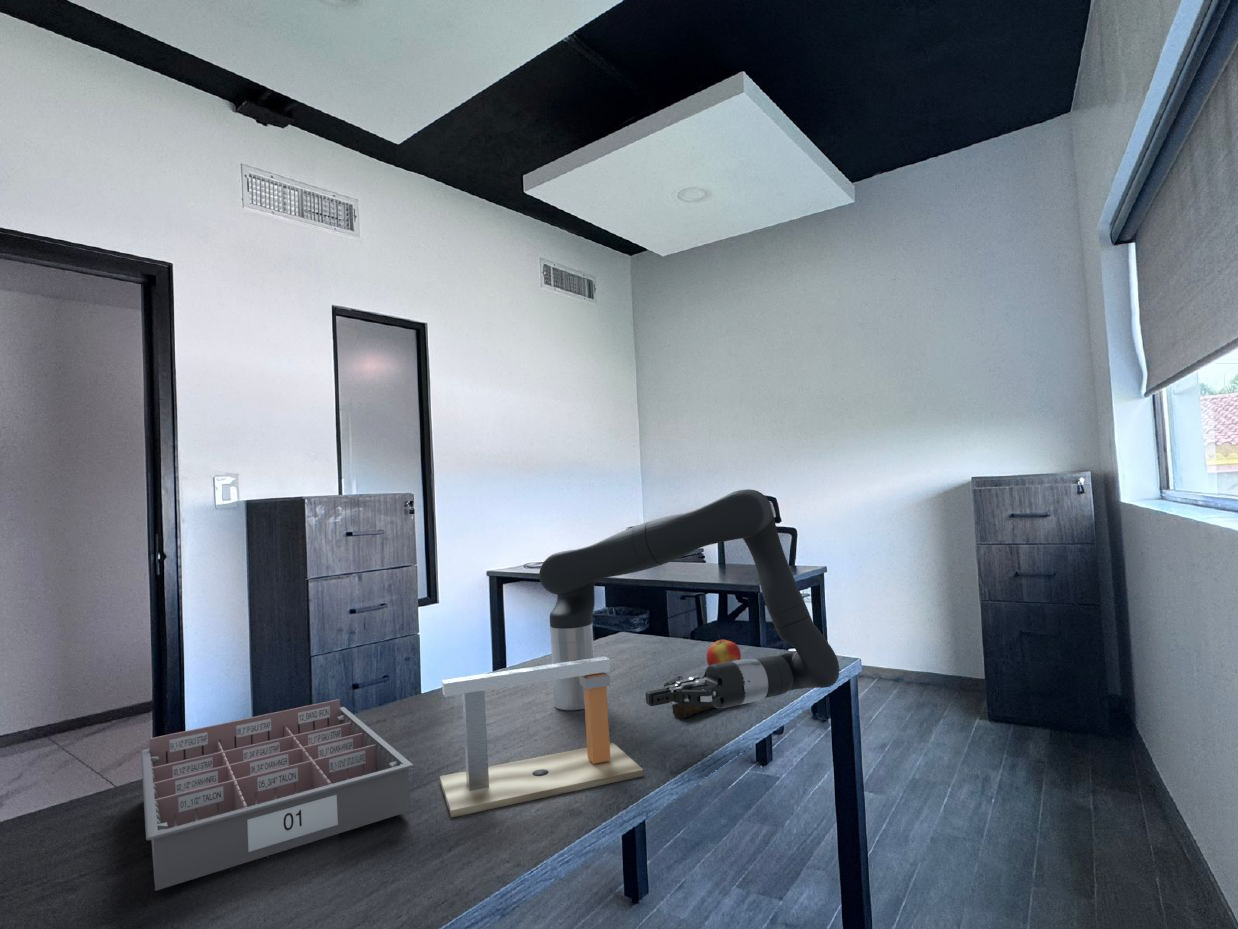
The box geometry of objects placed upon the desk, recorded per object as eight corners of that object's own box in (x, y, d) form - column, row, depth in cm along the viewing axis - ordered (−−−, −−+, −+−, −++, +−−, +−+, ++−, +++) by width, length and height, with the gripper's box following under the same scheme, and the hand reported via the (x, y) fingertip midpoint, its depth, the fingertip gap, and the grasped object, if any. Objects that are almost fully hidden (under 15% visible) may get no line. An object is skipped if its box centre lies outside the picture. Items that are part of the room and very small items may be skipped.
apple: (744, 680, 163) (741, 637, 164) (710, 682, 163) (707, 639, 164) (739, 671, 171) (736, 630, 172) (706, 673, 171) (703, 632, 172)
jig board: (440, 782, 113) (439, 775, 113) (613, 748, 124) (612, 742, 124) (451, 817, 100) (450, 810, 100) (643, 776, 111) (643, 769, 111)
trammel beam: (447, 788, 109) (441, 679, 109) (610, 755, 118) (604, 656, 119) (449, 795, 106) (444, 684, 106) (616, 761, 115) (610, 659, 116)
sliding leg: (583, 757, 117) (579, 673, 118) (606, 753, 118) (601, 669, 119) (591, 765, 113) (586, 678, 114) (614, 760, 115) (609, 674, 115)
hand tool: (684, 722, 137) (682, 698, 137) (671, 718, 140) (670, 694, 140) (754, 702, 147) (753, 680, 147) (741, 698, 150) (739, 676, 151)
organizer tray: (148, 909, 82) (145, 821, 82) (142, 799, 114) (140, 737, 115) (417, 821, 100) (414, 751, 101) (346, 749, 133) (344, 696, 133)
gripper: (716, 655, 132) (631, 669, 126) (753, 668, 120) (661, 685, 113) (719, 695, 131) (634, 711, 125) (757, 713, 119) (665, 732, 113)
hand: (647, 699), depth 119 cm, fingers closed
